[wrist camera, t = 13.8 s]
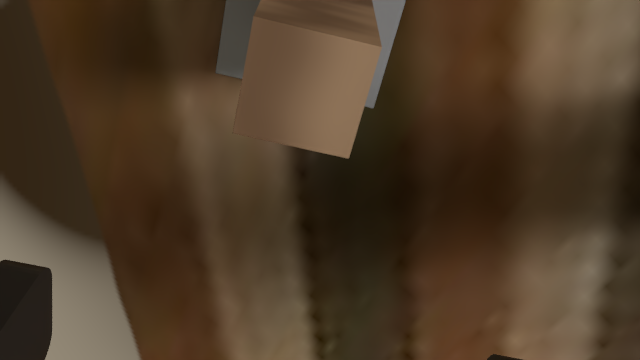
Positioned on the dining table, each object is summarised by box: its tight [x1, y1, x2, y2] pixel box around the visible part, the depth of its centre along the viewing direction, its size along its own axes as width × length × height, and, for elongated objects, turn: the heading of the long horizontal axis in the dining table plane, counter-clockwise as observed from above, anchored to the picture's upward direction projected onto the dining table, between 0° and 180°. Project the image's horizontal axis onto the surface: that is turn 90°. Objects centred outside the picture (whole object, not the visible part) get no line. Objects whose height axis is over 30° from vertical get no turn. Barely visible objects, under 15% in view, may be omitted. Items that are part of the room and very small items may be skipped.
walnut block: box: [233, 0, 382, 159], centre depth 26 cm, size 4×4×11 cm
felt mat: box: [216, 0, 406, 108], centre depth 31 cm, size 9×9×1 cm
